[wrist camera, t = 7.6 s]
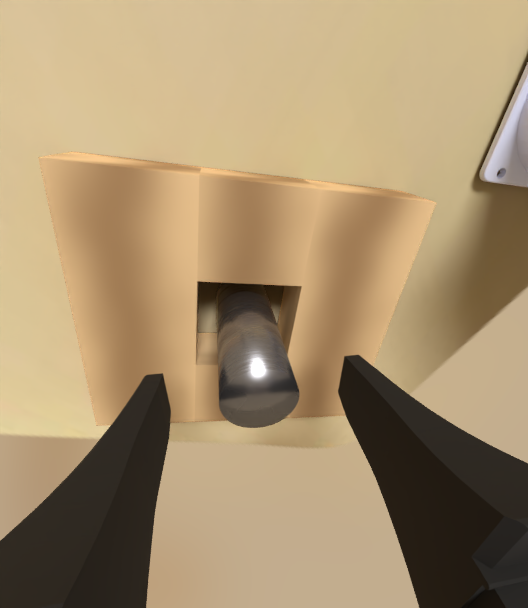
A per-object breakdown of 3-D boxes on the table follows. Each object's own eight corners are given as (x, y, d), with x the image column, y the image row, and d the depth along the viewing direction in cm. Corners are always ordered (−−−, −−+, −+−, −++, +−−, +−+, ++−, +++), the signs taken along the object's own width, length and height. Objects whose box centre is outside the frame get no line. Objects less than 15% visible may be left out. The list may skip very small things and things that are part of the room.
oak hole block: (400, 191, 16) (436, 202, 14) (337, 383, 23) (353, 415, 20) (72, 151, 13) (38, 157, 10) (111, 387, 20) (96, 425, 17)
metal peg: (265, 271, 17) (301, 365, 11) (266, 315, 19) (297, 421, 12) (213, 276, 17) (214, 375, 10) (218, 320, 18) (222, 432, 12)
